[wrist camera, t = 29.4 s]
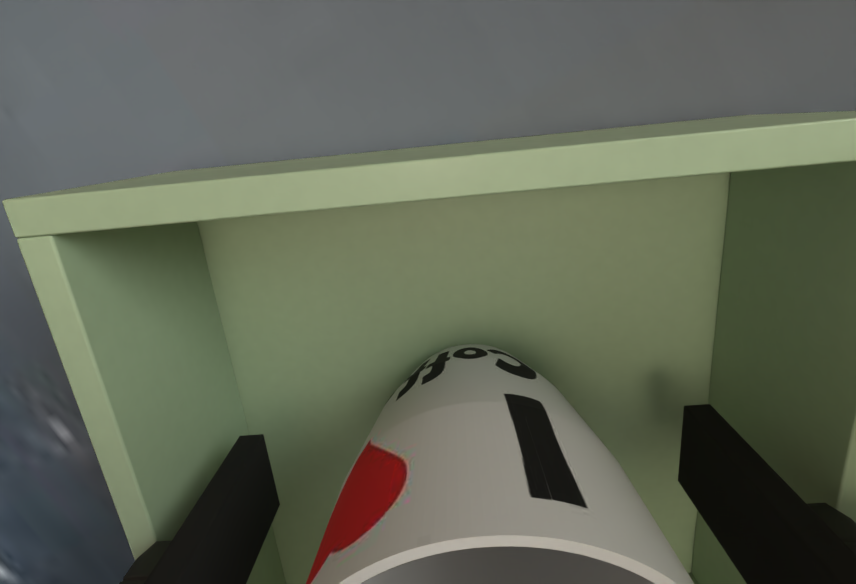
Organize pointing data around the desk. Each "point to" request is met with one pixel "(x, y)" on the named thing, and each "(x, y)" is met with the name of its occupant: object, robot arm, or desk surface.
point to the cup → (488, 489)
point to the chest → (462, 308)
